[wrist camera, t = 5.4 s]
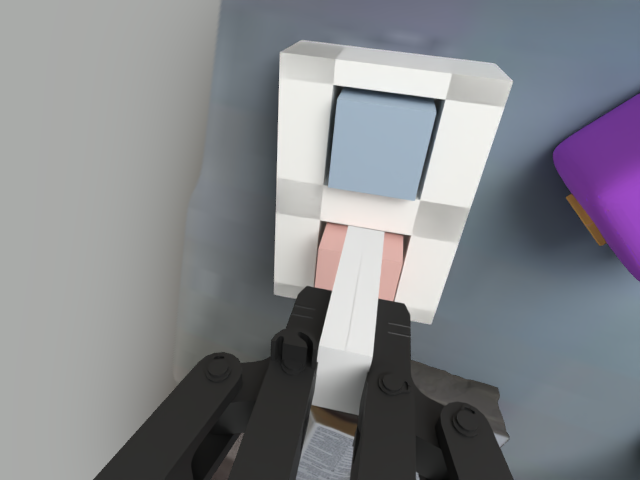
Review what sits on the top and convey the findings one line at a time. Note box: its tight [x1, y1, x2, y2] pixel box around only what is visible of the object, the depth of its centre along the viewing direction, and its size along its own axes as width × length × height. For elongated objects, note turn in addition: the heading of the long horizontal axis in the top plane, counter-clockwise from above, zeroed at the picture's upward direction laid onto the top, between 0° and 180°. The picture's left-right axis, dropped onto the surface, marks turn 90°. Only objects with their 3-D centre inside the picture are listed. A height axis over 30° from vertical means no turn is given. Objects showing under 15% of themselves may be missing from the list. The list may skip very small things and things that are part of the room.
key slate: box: [328, 86, 436, 201], centre depth 27 cm, size 6×6×4 cm
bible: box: [296, 360, 509, 480], centre depth 47 cm, size 23×27×10 cm
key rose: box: [315, 222, 403, 301], centre depth 31 cm, size 6×6×4 cm
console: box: [274, 40, 513, 325], centre depth 32 cm, size 20×14×6 cm
